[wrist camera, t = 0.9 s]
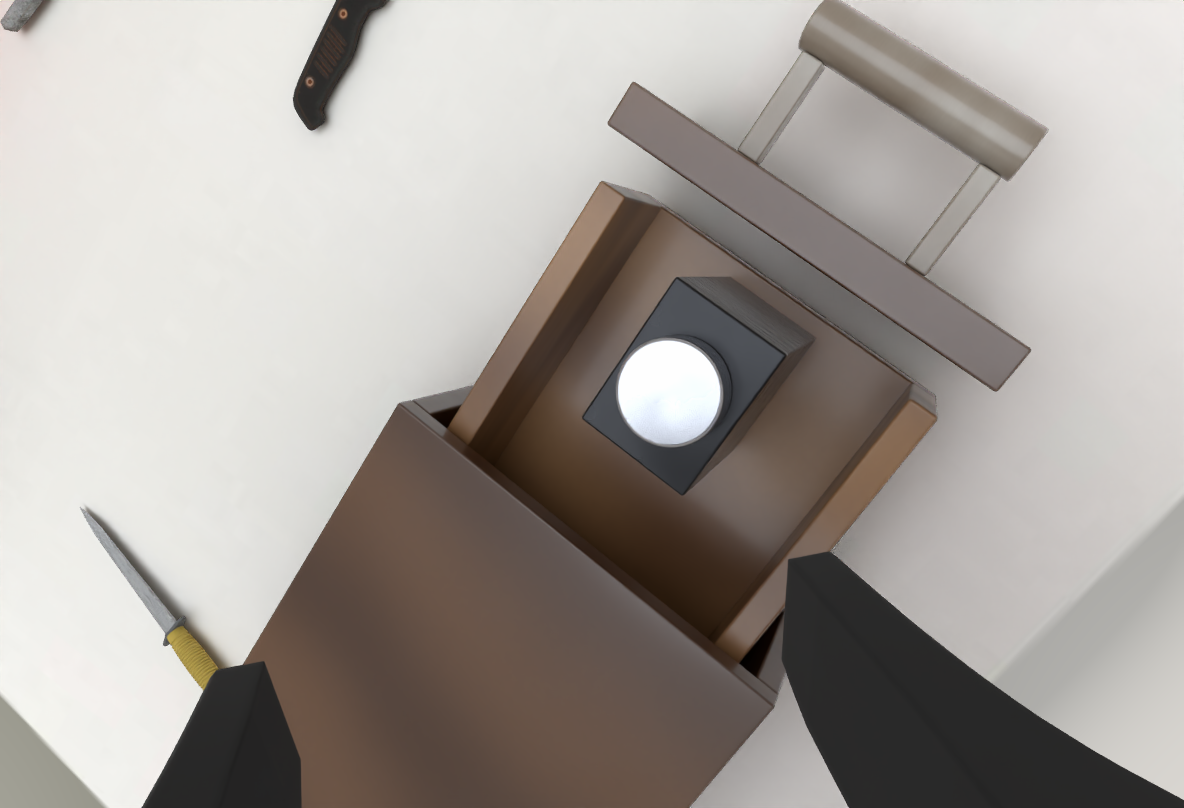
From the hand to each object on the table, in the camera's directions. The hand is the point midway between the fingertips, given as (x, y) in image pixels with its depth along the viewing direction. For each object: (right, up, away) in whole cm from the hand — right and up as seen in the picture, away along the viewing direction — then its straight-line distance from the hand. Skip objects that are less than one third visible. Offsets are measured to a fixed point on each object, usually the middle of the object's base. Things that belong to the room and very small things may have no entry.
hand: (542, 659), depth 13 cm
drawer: (+5, +5, +15) cm, 16 cm away
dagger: (-16, -4, +24) cm, 30 cm away
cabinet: (-1, -5, +19) cm, 20 cm away
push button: (+5, +5, +14) cm, 15 cm away
